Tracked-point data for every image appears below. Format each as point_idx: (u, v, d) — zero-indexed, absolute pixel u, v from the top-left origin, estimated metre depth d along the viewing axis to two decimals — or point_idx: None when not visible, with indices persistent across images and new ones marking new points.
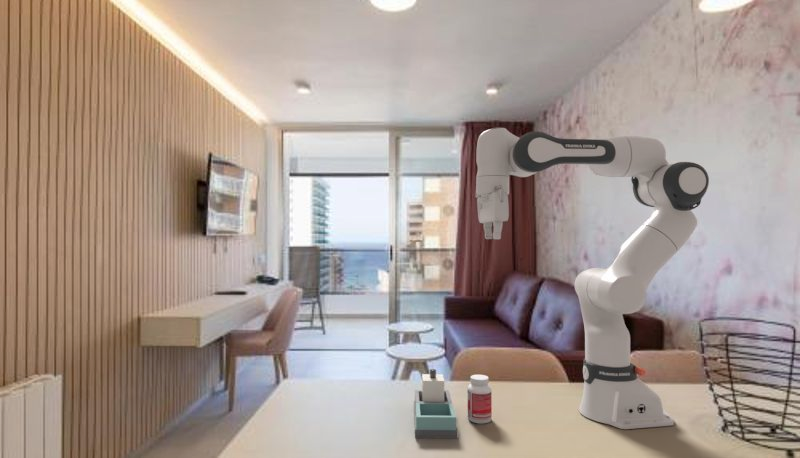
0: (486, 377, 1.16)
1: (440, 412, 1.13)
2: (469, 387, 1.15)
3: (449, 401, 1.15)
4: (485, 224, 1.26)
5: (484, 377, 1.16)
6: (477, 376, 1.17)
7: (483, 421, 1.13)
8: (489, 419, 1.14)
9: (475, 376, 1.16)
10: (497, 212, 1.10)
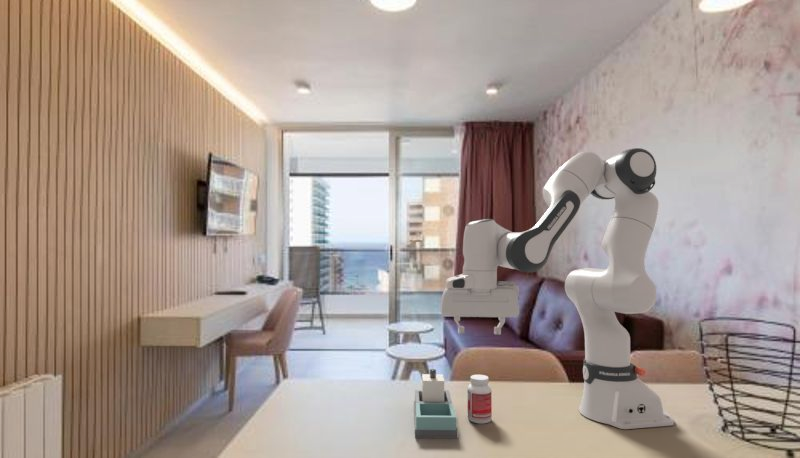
0: (486, 377, 1.16)
1: (440, 412, 1.13)
2: (469, 387, 1.15)
3: (449, 401, 1.15)
4: (459, 318, 1.15)
5: (484, 377, 1.16)
6: (477, 376, 1.16)
7: (483, 421, 1.13)
8: (489, 419, 1.14)
9: (475, 376, 1.16)
10: (518, 309, 1.15)
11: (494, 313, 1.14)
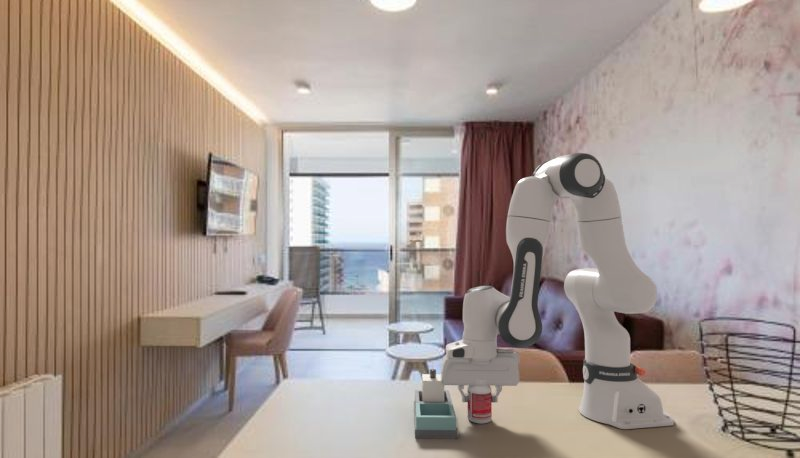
0: None
1: (440, 412, 1.13)
2: (469, 387, 1.15)
3: (449, 401, 1.15)
4: None
5: None
6: None
7: (483, 421, 1.13)
8: (489, 419, 1.14)
9: None
10: None
11: (494, 382, 1.14)
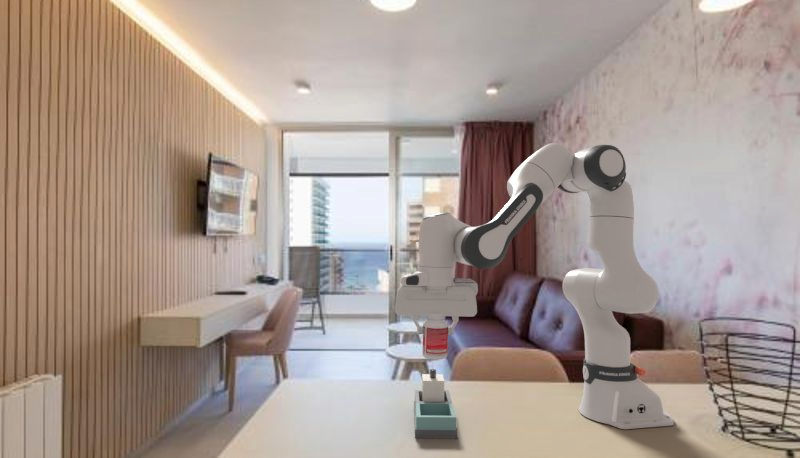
0: None
1: (440, 412, 1.13)
2: (424, 322, 1.09)
3: (449, 401, 1.15)
4: None
5: None
6: None
7: (437, 357, 1.07)
8: (444, 355, 1.08)
9: None
10: (476, 308, 1.09)
11: (450, 312, 1.08)
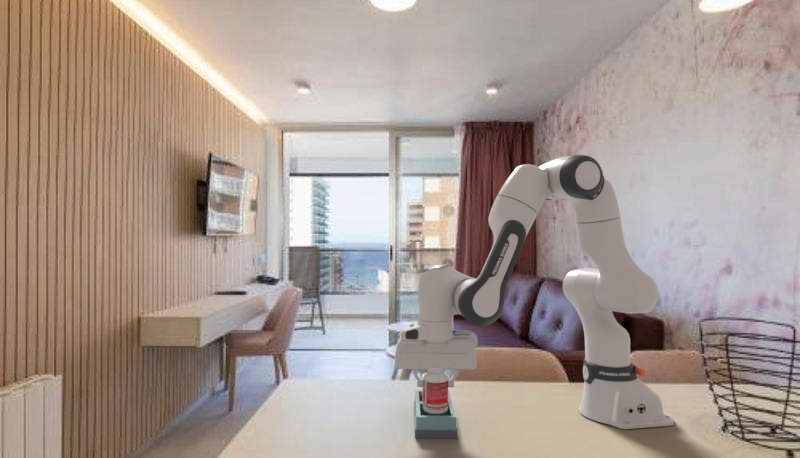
0: None
1: None
2: (424, 376, 1.09)
3: (449, 401, 1.15)
4: None
5: None
6: None
7: (438, 411, 1.06)
8: (444, 409, 1.07)
9: None
10: (476, 360, 1.08)
11: (450, 365, 1.08)
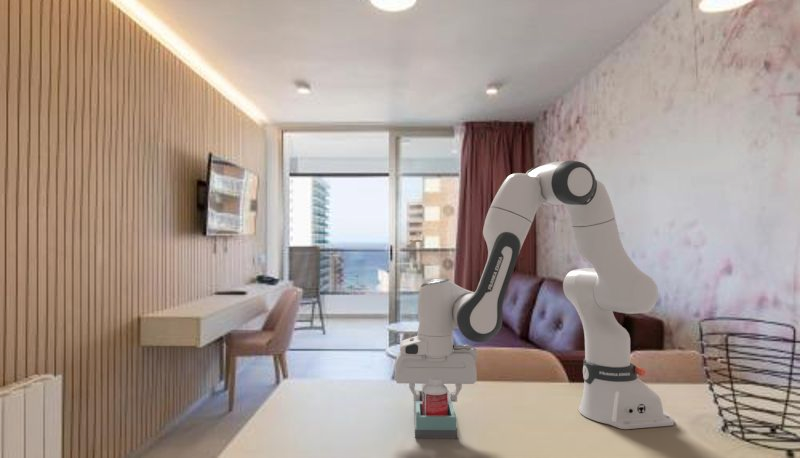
0: None
1: None
2: (424, 387, 1.09)
3: (449, 401, 1.15)
4: (414, 384, 1.09)
5: None
6: None
7: None
8: None
9: None
10: (476, 375, 1.08)
11: (450, 380, 1.08)
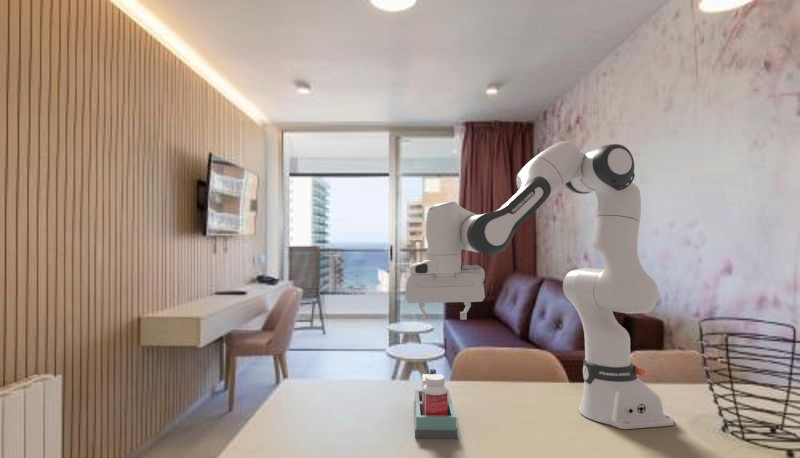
0: (442, 377, 1.09)
1: None
2: (424, 387, 1.09)
3: (449, 401, 1.15)
4: None
5: (440, 377, 1.09)
6: (433, 376, 1.10)
7: None
8: None
9: (431, 376, 1.10)
10: (484, 293, 1.12)
11: (459, 298, 1.12)
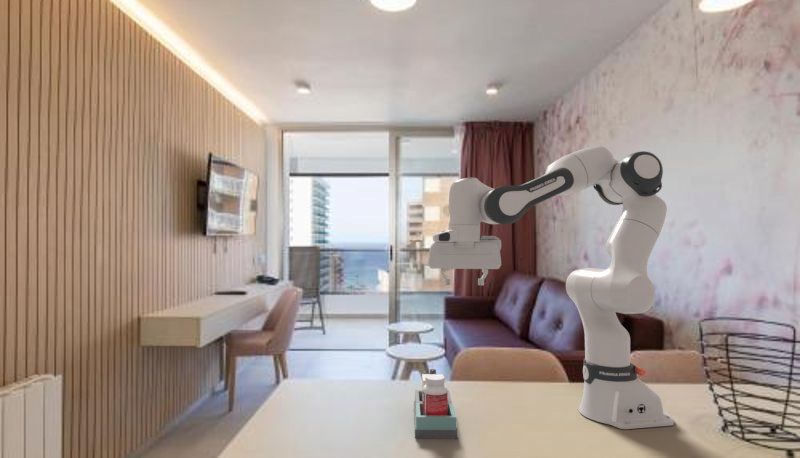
0: (442, 377, 1.09)
1: None
2: (424, 387, 1.09)
3: (449, 401, 1.15)
4: (445, 270, 1.24)
5: (440, 377, 1.09)
6: (433, 376, 1.10)
7: None
8: None
9: (431, 376, 1.10)
10: (500, 261, 1.23)
11: (477, 265, 1.23)
